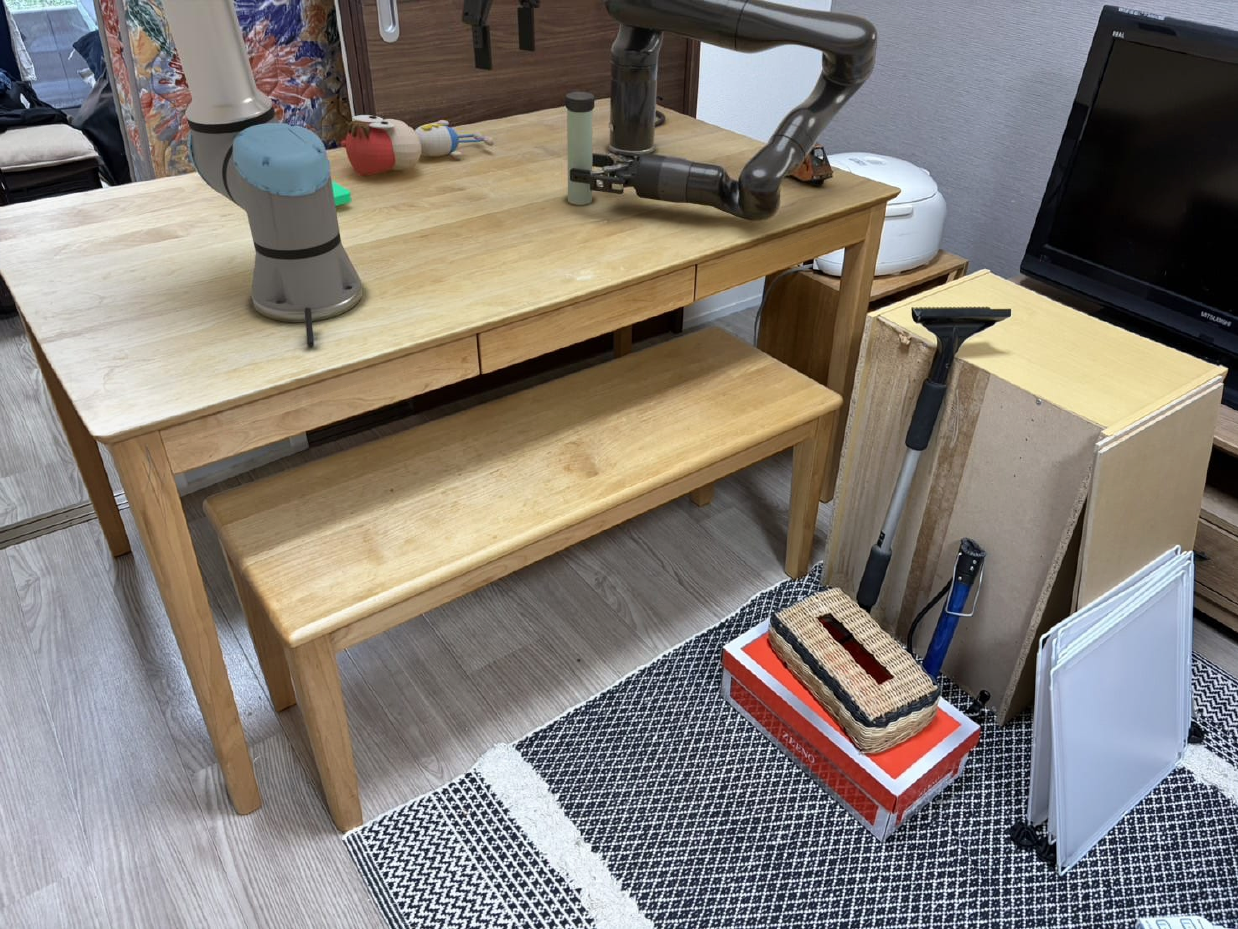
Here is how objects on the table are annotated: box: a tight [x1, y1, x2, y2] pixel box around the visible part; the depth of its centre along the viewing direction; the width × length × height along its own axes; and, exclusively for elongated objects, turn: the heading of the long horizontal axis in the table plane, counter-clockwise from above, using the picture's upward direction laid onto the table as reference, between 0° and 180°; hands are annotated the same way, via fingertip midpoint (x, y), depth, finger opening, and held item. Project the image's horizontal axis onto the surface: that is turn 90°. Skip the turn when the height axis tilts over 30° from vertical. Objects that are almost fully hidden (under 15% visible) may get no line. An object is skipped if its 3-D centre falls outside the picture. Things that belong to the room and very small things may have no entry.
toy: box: [340, 114, 495, 176], centre depth 180 cm, size 18×10×30 cm
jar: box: [566, 108, 594, 206], centre depth 163 cm, size 4×4×18 cm
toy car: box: [788, 141, 834, 187], centre depth 178 cm, size 6×12×7 cm, turn 39°
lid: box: [565, 91, 596, 112], centre depth 158 cm, size 5×5×2 cm
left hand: (506, 59), depth 153 cm, fingers open, 13 cm apart
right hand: (579, 166), depth 164 cm, fingers open, 8 cm apart
